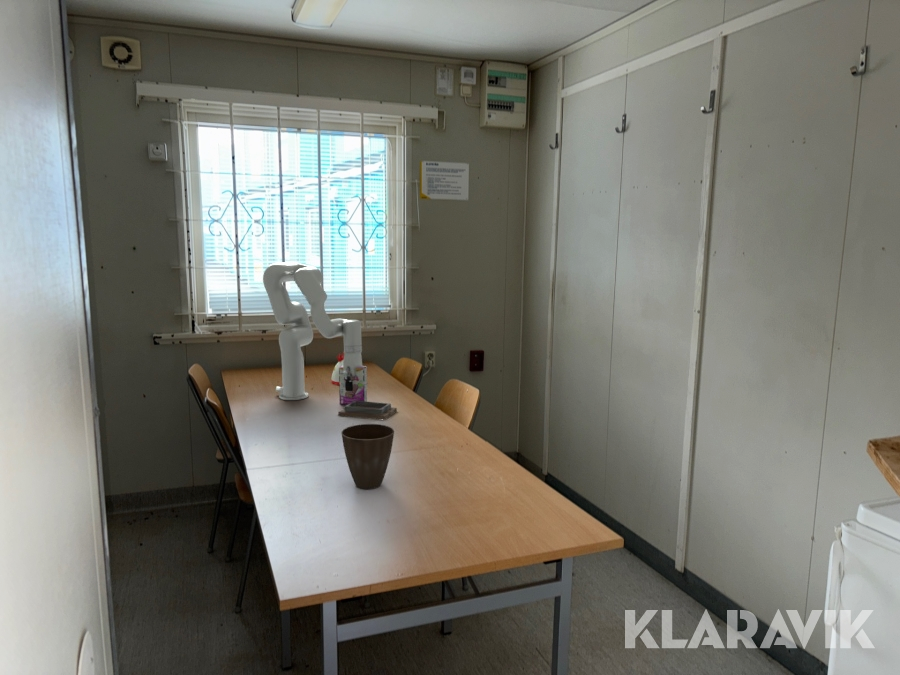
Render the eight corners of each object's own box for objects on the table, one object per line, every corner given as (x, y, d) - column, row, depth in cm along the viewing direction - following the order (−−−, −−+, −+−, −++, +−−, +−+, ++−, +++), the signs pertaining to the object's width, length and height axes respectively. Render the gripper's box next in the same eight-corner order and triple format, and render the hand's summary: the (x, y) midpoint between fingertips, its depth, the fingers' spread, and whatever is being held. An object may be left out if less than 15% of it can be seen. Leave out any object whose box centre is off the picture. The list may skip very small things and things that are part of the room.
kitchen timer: (328, 380, 310) (327, 351, 307) (355, 378, 315) (354, 349, 313) (335, 386, 297) (334, 356, 295) (363, 384, 303) (362, 354, 300)
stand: (384, 419, 243) (384, 411, 242) (338, 415, 248) (338, 407, 248) (396, 411, 255) (396, 403, 254) (352, 407, 260) (352, 399, 260)
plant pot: (348, 474, 186) (347, 423, 184) (397, 475, 186) (397, 424, 183) (337, 494, 172) (336, 439, 169) (390, 495, 171) (390, 440, 169)
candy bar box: (339, 404, 264) (338, 367, 262) (342, 401, 269) (341, 364, 267) (364, 405, 263) (364, 368, 261) (367, 402, 268) (367, 365, 266)
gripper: (353, 345, 272) (354, 383, 274) (335, 352, 255) (337, 392, 258) (369, 346, 270) (370, 384, 272) (352, 352, 253) (353, 393, 256)
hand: (354, 388), depth 265 cm, fingers open, 9 cm apart
